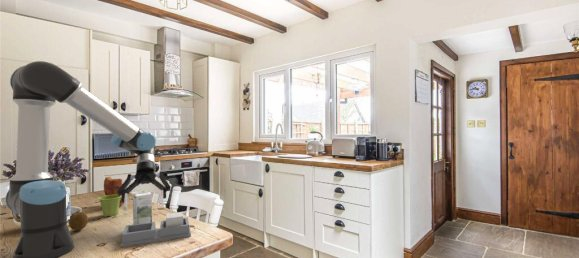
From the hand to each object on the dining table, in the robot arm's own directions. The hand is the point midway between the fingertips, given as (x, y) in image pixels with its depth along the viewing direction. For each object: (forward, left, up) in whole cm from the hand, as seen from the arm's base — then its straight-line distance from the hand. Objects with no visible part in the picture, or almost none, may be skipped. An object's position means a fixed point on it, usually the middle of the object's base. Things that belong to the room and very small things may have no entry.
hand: (144, 207), depth 118 cm
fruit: (-25, +9, -9) cm, 28 cm away
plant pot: (-17, +28, -9) cm, 34 cm away
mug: (-19, +47, -9) cm, 51 cm away
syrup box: (-1, 0, -9) cm, 9 cm away
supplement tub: (-37, +26, -9) cm, 46 cm away
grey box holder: (+5, -12, -9) cm, 16 cm away
